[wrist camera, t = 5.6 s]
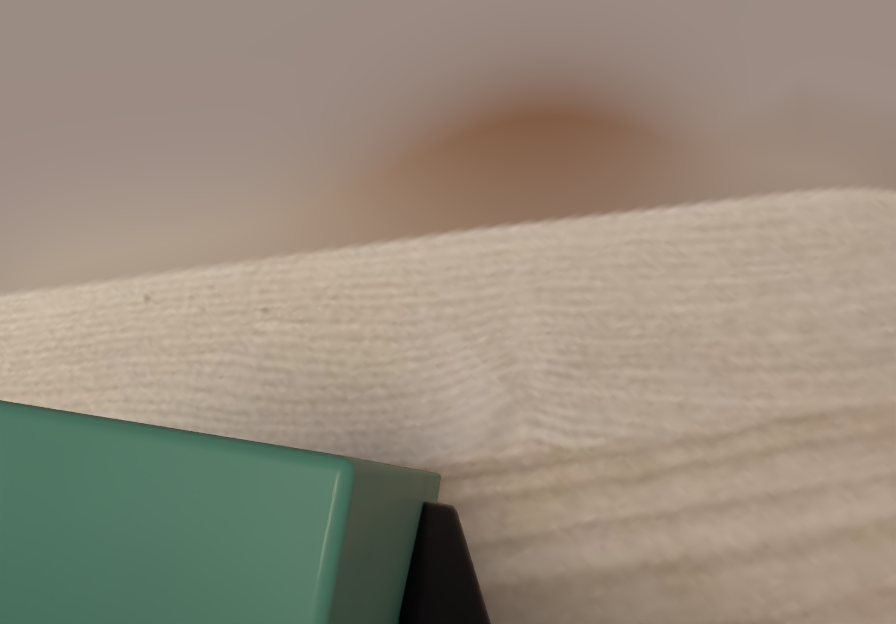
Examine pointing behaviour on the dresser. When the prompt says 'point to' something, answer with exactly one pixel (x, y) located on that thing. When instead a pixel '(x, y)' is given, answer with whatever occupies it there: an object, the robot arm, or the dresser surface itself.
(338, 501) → the block
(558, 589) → the dresser surface
